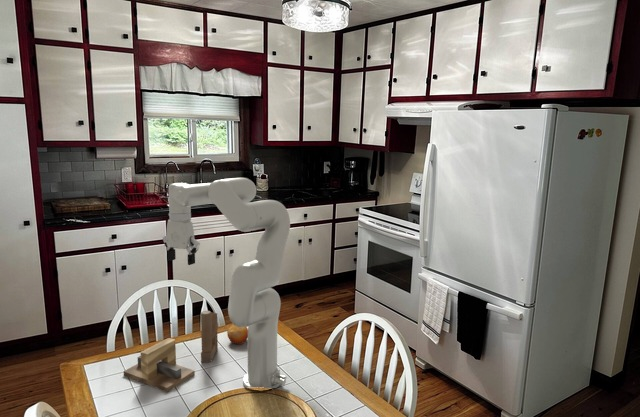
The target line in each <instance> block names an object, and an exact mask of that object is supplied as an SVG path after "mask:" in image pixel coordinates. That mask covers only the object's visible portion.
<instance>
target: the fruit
mask: <svg viewBox="0 0 640 417" xmlns="http://www.w3.org/2000/svg"><path fill="white" fill-rule="evenodd" d="M226 333H227V338H228V340H229V341H230V342H231V343H233V344H238V345H242V344H245V343H246V342H247V341H248V326H247V327H237V326H235V325H234V324H232V325H231V326H230V327H229V328H228V330H227V332H226Z"/></svg>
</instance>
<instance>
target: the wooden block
mask: <svg viewBox="0 0 640 417" xmlns="http://www.w3.org/2000/svg"><path fill="white" fill-rule="evenodd" d="M200 330H201V332H200V333H201V335H200V336H201V337H200V338H201V352H200V362H201V363H212V361H213V360H214V357H215V355H216V352H217V350H218V348H219V347H218V346H219V344H218V339H219V338H218V313H217V312H211V311H210V310H203V311H201V312H200Z"/></svg>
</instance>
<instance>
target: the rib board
mask: <svg viewBox="0 0 640 417" xmlns="http://www.w3.org/2000/svg"><path fill="white" fill-rule="evenodd" d="M195 374H196V373H195V370H194V369H191V368H188V367H185V366H182V365H180V364H176V365H174V366H173V365H170V364H167V363H165V362H162V361H161V360H160V361H158V362H157V376H155V377H154V378H152V379H150V380H146V379H143V378H142V372H141V355H140V356H137V364H135V365H132V366H131V367H128V368H126V369H125V370H124V371H123V376H124V377H127V378H130V379H132V380H135V381H138V382H141V383H142V384H145V385H148V386H150V387H153V388H156V389H158V390H161V391H164V392H165V393H168V392H170V391H172V390H173V389H175V388H176V387H178V386H180V385H182V384H183V383H184V382H186V381H187V380H189V379H191V378H192V377H193V376H195Z"/></svg>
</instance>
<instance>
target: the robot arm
mask: <svg viewBox="0 0 640 417" xmlns="http://www.w3.org/2000/svg"><path fill="white" fill-rule="evenodd" d="M256 195H257V186H256V185H255V183H254V182H253V181H252V180H251V179H249V178H248V177H232V178H224V179H217V180H213V181H212V182H207V183H206V182H205V183H193V184H189V183H186V182H185V183H184V182H175V183H173V182H172V183H171V184H169V186H168V209H169V213H168V214H167V215H168V216H169V219H168V220H167V223H166V224H167V225H166V233H165V234H166V235H165V236H163V237H162V241H163V243H164V247H166V248H165V250H166V251H167V261H168V262H172V261H175V260H176V258H177V257H176V249H179V250H186V251H187V253H188V254H187V265H188V266H191V265H194V264H196V253H197V251H199V248H200V246H201V243H200V242H199V241H198V240H197V239H195V231H194V230H195V229H194V225H193V221H192V212H191V211H192V210H191V209H192V208H191V207H194V206H202V205H210V204H211V205H212V204H213V205H215V206H216V207H217V209H218V210H219V212H221V214H222V215H223V216H224V217H225V218H226V219H227V220H228V222H229V223H230V224H231V225H232V226H233V227H234V228H235V229H236V230H238V231H241V232H244V233H246V232H247V233H248V232H251V231H252V232H253V231H257V230H262V229H265V230H264V232H263V233H262V235H261V237H260V238H259V240H258V243H257V246H256V253H255V254H256V255H255V257H254V259H253V260H251V261H248V262H245V263H242V264H240V265H239V266H237V267H236V268H235V269H234V272H233V274H232V277H231V282H230V290H229V295H228V296H229V297H228V306H227V311H228V313H227V314H228V317H229V320H230V322H231V323H232V325H235V326H237V327H247V329H248V337H247V373H246V374H244V376H243V378H242V384H243V386H244V387H245V388H246V387H264V388H275V389H276V388H278V387H279V386H285V385H286V383H287V382H286V380H287V375H284V374H282V373H281V369H280V368H278V324H279V323H278V322H279V317H280V313H281V312H280V311H281V304H282V302H281V298H280V295H279V293H278V292H277V291H276V290H275V289H274V288H273V287H275V286H276V285H278V283H279V282H280V280H281V275H282V269H283V264H284V258H285V251H286V246H287V243H288V237H289V235H290V228H291V218H290V215H289V212H288V210H287V208H286V206H285V205H284V204H283V203H281V202H280V201H278V200H274V199H265V200H264V199H263V200H262V199H261V200H257V201H252V200H254V199H255V197H256Z"/></svg>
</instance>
